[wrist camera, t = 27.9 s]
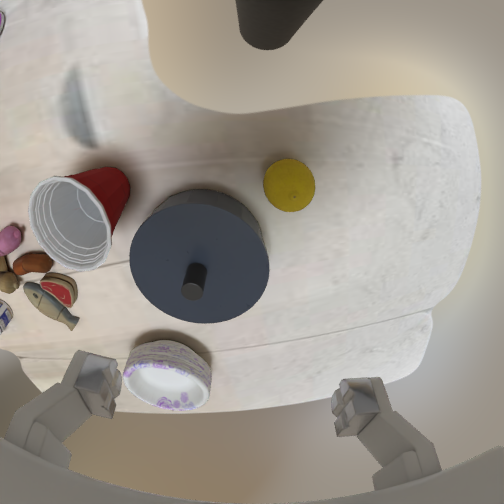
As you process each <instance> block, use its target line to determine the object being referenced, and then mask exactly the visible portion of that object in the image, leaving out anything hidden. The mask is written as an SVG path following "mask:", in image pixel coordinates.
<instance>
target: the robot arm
mask: <svg viewBox="0 0 504 504" xmlns="http://www.w3.org/2000/svg"><path fill="white" fill-rule="evenodd" d="M117 366H118V363H117V361H116V359H113V358H109V357H105V356H101V355H97V354H92V353H89V352H85V351H81V350H78V351H77V352H76V353H75V354H74V356H73V358H72V360H71V362H70V365H69V367H68V369H67V371H66V373H65V375H64V378H63V380H62V382H61V384H60V383H56V384H55V385H53V386H52V387H50V388H49V389H48V390H46V391H45V392H43V393H42V394H40V395H39V396H37V397H36V398H34V399H33V400H31V401H30V402H28V403H27V404H25V405H24V406H22V407H21V408H19V409H18V410H16V411H15V414H14V416H13V418H12V420H11V423H10V425H9V428H8V430H7V433H6V435H5V438H4V439H3V438H1V437H0V504H240V503H219V502H207V501H197V500H188V499H181V498H175V497H168V496H163V495H157V494H152V493H148V492H142V491H138V490H134V489H130V488H125V487H122V486H118V485H115V484H111V483H108V482H104V481H101V480H98V479H94V478H91V477H89V476H86V475H82V474H80V473H77V472H74V471H72V470H69V469H68V467H69V463H70V459H71V456H72V455H71V453H70V451H69V450H68V449H67V448H66V447H65V446H64V445H63V444H62V442H64V441H65V440H66V439H67V438H68V437H69V436H70V435H71V434H72V433H73V432H74V431H75V430H76V429H78V428H79V427H80V426H81V425H82V424H83V423H84V422H85V421H86V420H87V419H88V418H90V417H91V416H92V414H94V415H97V416H101V417H106V418H110V419H112V418H113V414H114V411H115V407H116V403H115V400H114V398H116V397H117V396H119V394H120V391H121V385H122V376H121V373H120V371H119V370H118V369H117ZM339 386H340V388H339V389H337V390H335V392H334V394H333V395H332V401H331V408H332V413H333V414H334V415H335V416H336V417H337V419H336V420H335V422H334V424H335V429H336V433H337V437H344V436H356V435H358V436H357V437H358V439H359V440H360V441H361V442H362V443H363V445H364V446H365V447H366V448H367V449H368V451H369V452H370V453H371V454H372V455H373V457H374V458H375V459H376V460H377V461H378V462H379V464H380V465H381V466H382V467H383V468H382V469H381V470H379V471H378V472H376V473H375V474H374V475H373V476H372V478H373V484H374V489H375V491H372V492H367V493H362V494H357V495H352V496H346V497H340V498H333V499H325V500H318V501H307V502H296V503H275V504H504V447H502V446H497V447H494V448H492V449H490V450H488V451H486V452H484V453H482V454H480V455H478V456H476V457H474V458H471V459H469V460H467V461H465V462H462V463H460V464H457V465H455V466H453V467H450V468H448V469H445V470H441V467H440V463H439V460H438V457H437V454H436V451H435V448H434V445H433V443H432V442H430V441H429V440H428V439H427V438H426V437H425V436H424V435H422V434H421V433H420V432H419V431H418V430H416V428H414V427H413V426H412V425H411V424H410V423H409V422H408V421H407V420H405V419H404V418H403V417H402V416H401V415H400V414H399V413H397V412H396V411H393V410H392V407H391V404H390V402H389V399H388V395H387V393H386V390H385V387H384V384H383V381H382V379H381V378H380V377H371V378H367V377H366V378H350V379H343V380H341V382H340V384H339Z"/></svg>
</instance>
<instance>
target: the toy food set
mask: <svg viewBox="0 0 504 504" xmlns="http://www.w3.org/2000/svg"><path fill="white" fill-rule="evenodd" d="M20 243H21V232H20V230H18V229H17V228H16V227H14V226H7V227H6V228H4V229H3V230H2V231H1V232H0V290H1V291H2V292H5V293H8V294H10V293H13V292H14V291H15V290H16V289H18V288H19V283H18V282H17V278H16V276H15V275H14V274H13V273H11V272H8V271H7V270H8V269H7V265H6V262H5V258H4V255H7V254H9V253H11V252H12V251H14V250H15V249H17V248H18V247H19V245H20ZM51 267H52V260H51V258H50V257H49V256H48V255H46V254H33V253H29V254H27V255H24V256H22V257H20V258H18V259H16V260H15V261H14V263H13V271H14V272H15V274H17V275H20V276H21V275H24V274H27V273H30V272H39V273H47V272H48V271H50V269H51ZM23 288H24V291H25V294H26V295H27V297H28V299H29V300H30V302H31V303H32V304H33V305H34V306H35V307H36V308H38V310H39V311H40V312H42V313H43V314H44V315H46V316H48V317H50V318H52V319H54V320H57V321H59V322H62V323H64V324H66V325H67V326H68V327H69V329H70V330H71V331H72V330H73V329H74V327H75V326H76V324H77V322H78V321H79V318H77V317H74V316H72V315H71V314H70V313H69V311H68V310H67V309H66V307H67V308H71V307H72V306H73V304H74V303H75V301H76V299H77V286H76V283H75V281H74V280H73V279H72V278H70V277H67V276H65V275H62V274H58V273H47V274H46V275H45V276H44V277H43V278H42V280H41V281H40V285H38V284H36V283H31V282H27V283H25V285H24V286H23ZM63 305H64V306H65V307H64V306H63Z"/></svg>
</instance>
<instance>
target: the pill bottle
mask: <svg viewBox="0 0 504 504" xmlns="http://www.w3.org/2000/svg"><path fill="white" fill-rule="evenodd" d="M12 317H13V313H12V310H11V309H10V307H9V306H8V305H7V304H6V303H5V302H4V301H2V300H0V335H1V333H2V332H3V330H4V329H5V327H6V326H7V325H8V323H9V322H10V320H11V319H12Z"/></svg>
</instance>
